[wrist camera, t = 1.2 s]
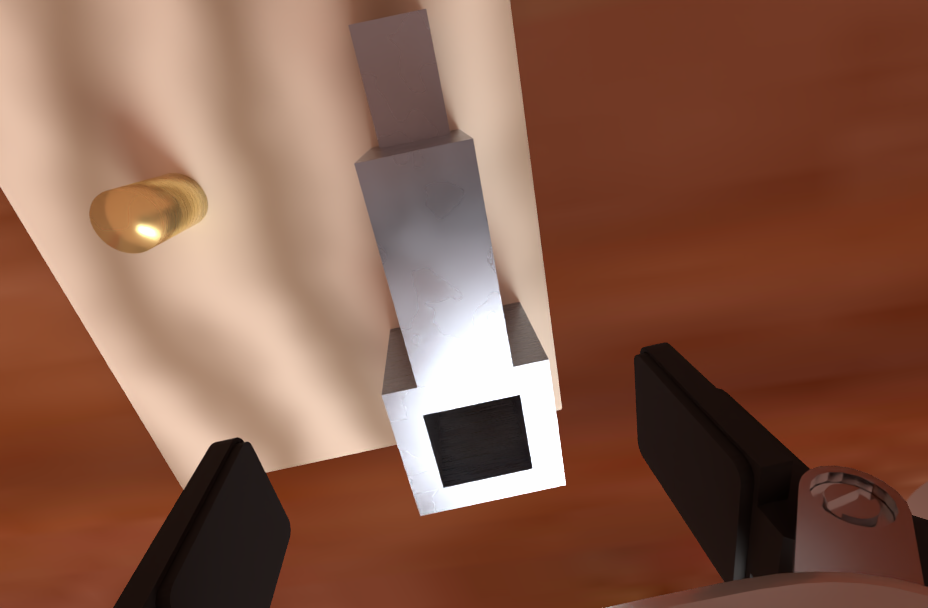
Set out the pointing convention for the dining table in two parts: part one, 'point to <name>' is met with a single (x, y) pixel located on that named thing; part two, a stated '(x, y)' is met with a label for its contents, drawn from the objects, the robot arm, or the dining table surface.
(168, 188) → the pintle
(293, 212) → the board
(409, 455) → the link
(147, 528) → the dining table surface
